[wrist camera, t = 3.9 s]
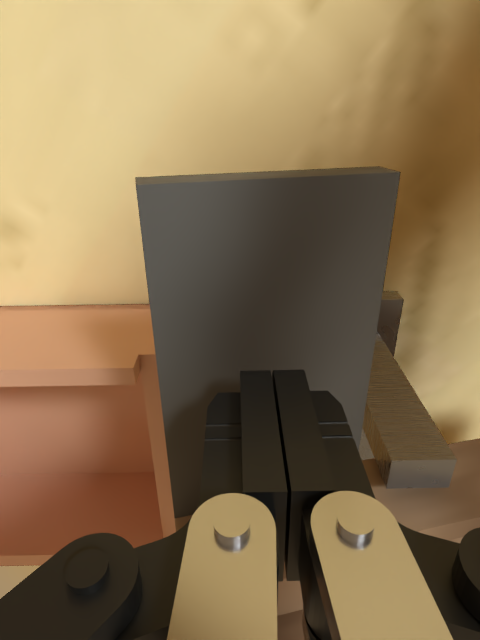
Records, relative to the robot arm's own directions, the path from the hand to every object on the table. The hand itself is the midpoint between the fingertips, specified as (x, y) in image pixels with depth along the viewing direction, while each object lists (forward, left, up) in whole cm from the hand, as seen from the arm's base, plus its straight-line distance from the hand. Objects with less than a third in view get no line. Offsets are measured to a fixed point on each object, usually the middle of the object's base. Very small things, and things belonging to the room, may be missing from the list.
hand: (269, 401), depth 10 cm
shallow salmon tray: (+9, -10, -12) cm, 18 cm away
